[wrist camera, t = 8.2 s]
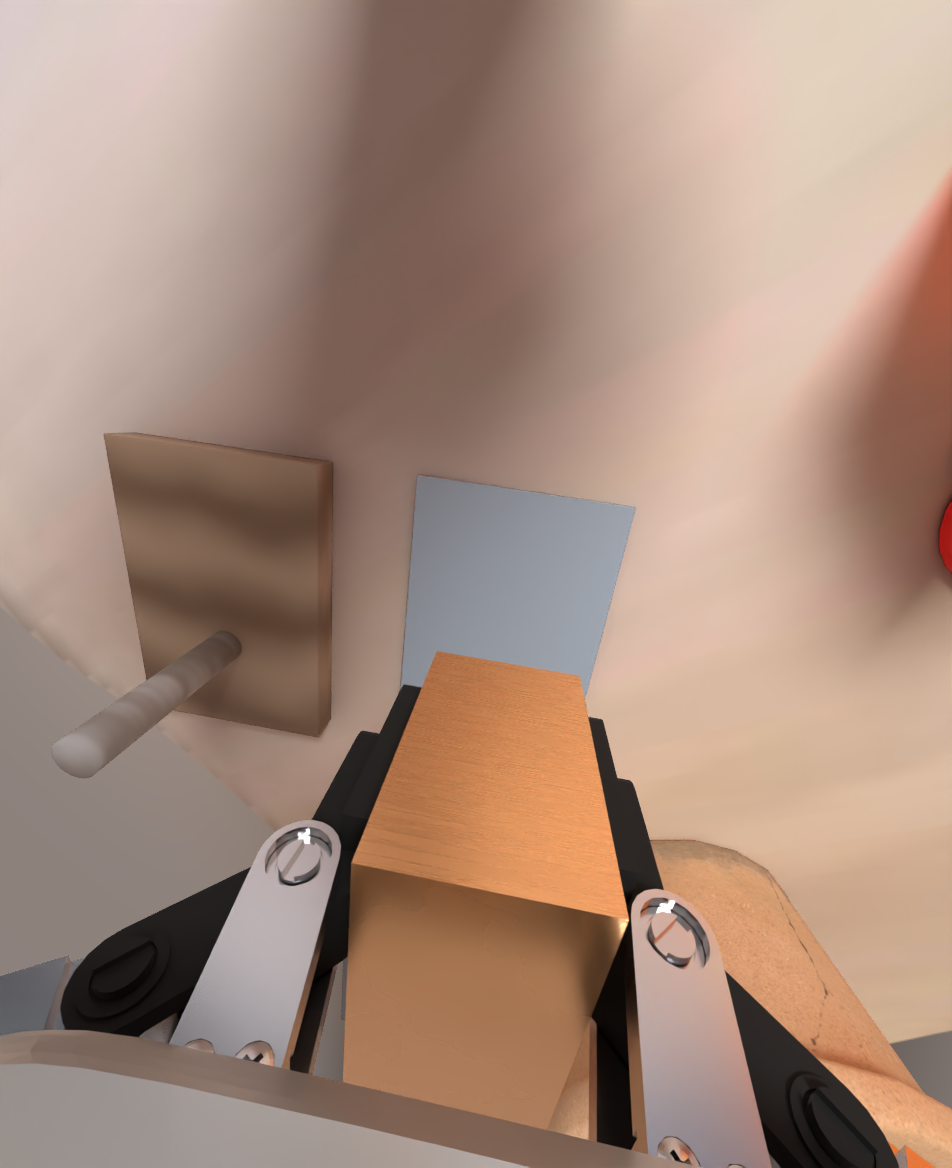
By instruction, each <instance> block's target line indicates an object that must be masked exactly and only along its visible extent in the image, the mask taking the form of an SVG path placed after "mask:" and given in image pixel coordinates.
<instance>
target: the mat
mask: <svg viewBox="0 0 952 1168" xmlns="http://www.w3.org/2000/svg"><path fill="white" fill-rule="evenodd" d="M635 509H636V508H635V507H632V506H625V505H618V504H611V503H605V502H598V501H591V500H585V499H578V498H571V497H564V496H558V495H551V494H544V493H538V492H531V491H524V490H517V489H511V488H504V487H497V486H490V485H484V484H477V483H470V482H464V481H457V480H450V479H443V478H437V477H430V476H423V475H418V476H417V485H416V498H415V511H414V524H413V537H412V549H411V562H410V575H409V588H408V601H407V613H406V626H405V639H404V652H403V665H402V678H401V688H402V686H403V685H404V684H406V685H412V686H417V687H422V686H423V684H424V681H425V679H426V676H427V674H428V671H429V669H430V666H431V664H432V661H433V659H434V656H435V654H436V651H439V652H445V653H451V654H456V655H462V656H468V657H474V658H480V659H485V660H491V661H497V662H503V663H508V664H514V665H520V666H526V667H532V668H537V669H543V670H549V671H555V672H560V673H566V674H572V675H578V676H580V679H581V684H582V689H583V694H584V699H585V697H586V694H587V690H588V686H589V682H590V678H591V675H592V671H593V667H594V663H595V660H596V656H597V652H598V648H599V645H600V641H601V637H602V633H603V630H604V626H605V622H606V618H607V614H608V611H609V607H610V603H611V599H612V596H613V592H614V588H615V584H616V581H617V577H618V573H619V569H620V566H621V562H622V558H623V554H624V550H625V547H626V543H627V539H628V535H629V532H630V528H631V524H632V520H633V517H634V513H635Z"/></svg>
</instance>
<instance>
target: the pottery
mask: <svg viewBox="0 0 952 1168" xmlns="http://www.w3.org/2000/svg"><path fill="white" fill-rule="evenodd" d="M650 843H651V846H652V850H653V853H654V857H655V860H656V864H657V867H658V871H659V874H660V877H661V881H662V884H663V888H664V890H665V891H669V892H671V893H673V894H675V895H678V896H680V897H681V898H683V899H684V900H686V901H687V902H688V903H690V904H691V905H692V906H694V907H695V909H696V910H697V911H698V912H699V913H700V914H701V915H702V916H703V917H704V918H705V920H706V921H707V923H708V924H709V926H710V927H711V929H712V931H713V932H714V935H715V937H716V940H717V943H718V945H719V949H720V953H721V957H722V961H723V965H724V970H725V971H726V972H727V973H728V974H729V975H731V976H732V977H733V978H734V979H735V980H736V981H737V982H738V983H739V984H740V985H741V986H742V987H743V988H744V989H745V990H746V991H747V992H748V993H749V994H750V995H751V996H752V997H753V998H754V999H755V1000H756V1001H758V1002H759V1003H760V1004H761V1005H762V1006H763V1007H764V1008H765V1009H766V1010H767V1011H768V1012H769V1013H770V1014H771V1015H772V1016H773V1017H774V1018H775V1019H776V1020H777V1021H778V1022H779V1023H780V1024H781V1025H782V1026H784V1027H785V1028H786V1029H787V1030H788V1031H789V1032H790V1033H791V1034H792V1035H793V1036H794V1037H795V1038H796V1039H797V1040H798V1041H799V1042H800V1043H801V1044H802V1045H803V1046H804V1047H805V1048H806V1049H807V1050H808V1051H809V1052H811V1053H812V1054H813V1055H814V1056H815V1057H816V1058H817V1059H818V1060H819V1061H820V1062H821V1063H822V1064H823V1065H824V1066H825V1067H826V1068H827V1069H828V1070H829V1071H830V1072H831V1073H832V1074H833V1075H834V1076H835V1077H837V1078H838V1079H839V1080H840V1081H841V1082H842V1083H843V1084H844V1085H845V1086H846V1087H847V1088H848V1089H849V1090H850V1091H851V1092H852V1093H853V1095H854V1096H855V1097H856V1098H857V1099H858V1100H859V1101H860V1102H861V1103H862V1104H863V1106H864V1107H865V1108H866V1109H867V1110H868V1111H869V1113H870V1114H871V1116H872V1117H873V1119H874V1120H875V1122H876V1123H877V1125H878V1126H879V1127H880V1129H881V1130H882V1132H883V1133H884V1135H885V1137H886V1139H887V1141H888V1142H889V1143H891V1144H892V1145H893V1146H894V1147H896V1148H897V1149H898V1150H900V1149H901V1148H902V1147H903V1146H904V1145H906V1146H907V1147H909V1148H910V1149H911V1150H913V1151H914V1152H915V1153H917V1154H918V1155H919V1156H921V1157H922V1158H923V1159H925V1160H926V1161H927V1162H929V1163H930V1164H931V1165H933V1166H934V1167H935V1168H952V1109H951V1108H949V1107H947V1106H945V1105H943V1104H942V1103H940V1102H938V1101H936V1100H935V1099H933V1098H931V1097H929V1096H927V1095H926V1094H924V1093H923V1091H922V1090H921V1088H920V1087H919V1086H918V1084H917V1083H916V1081H915V1080H914V1078H913V1077H912V1076H911V1074H910V1073H909V1071H908V1070H907V1068H906V1067H905V1066H904V1064H903V1063H902V1061H901V1060H900V1058H899V1057H898V1056H897V1054H896V1053H895V1051H894V1050H893V1048H892V1047H891V1046H890V1044H889V1043H888V1041H887V1040H886V1038H885V1037H884V1036H883V1034H882V1033H881V1031H880V1030H879V1028H878V1027H877V1026H876V1024H875V1023H874V1021H873V1020H872V1018H871V1017H870V1016H869V1014H868V1013H867V1011H866V1010H865V1008H864V1007H863V1006H862V1004H861V1003H860V1001H859V1000H858V998H857V997H856V996H855V994H854V993H853V991H852V990H851V988H850V987H849V986H848V984H847V983H846V981H845V980H844V978H843V977H842V976H841V974H840V973H839V971H838V970H837V968H836V967H835V965H834V964H833V963H832V961H831V960H830V958H829V957H828V955H827V954H826V953H825V951H824V950H823V948H822V947H821V945H820V944H819V943H818V941H817V940H816V938H815V937H814V935H813V934H812V933H811V931H810V930H809V928H808V927H807V925H806V924H805V923H804V921H803V920H802V918H801V917H800V915H799V914H798V913H797V911H796V910H795V908H794V907H793V905H792V904H791V902H790V901H789V899H788V897H787V895H786V894H785V892H784V891H783V890H782V888H781V887H780V886H779V884H778V883H777V882H776V880H775V879H774V878H773V876H772V875H771V874H770V872H769V871H768V870H767V869H765V868H764V867H762V866H760V865H759V864H757V863H755V862H754V861H752V860H750V859H748V858H747V857H745V856H743V855H742V854H740V853H738V852H737V851H734V850H730V849H726V848H722V847H718V846H714V845H711V844H707V843H703V842H699V841H695V840H652V841H650ZM589 1042H590V1021H589V1023H588V1026H587V1028H586V1031H585V1034H584V1036H583V1039H582V1041H581V1044H580V1046H579V1049H578V1051H577V1054H576V1056H575V1059H574V1062H573V1064H572V1067H571V1069H570V1072H569V1074H568V1077H567V1079H566V1082H565V1084H564V1087H563V1090H562V1092H561V1095H560V1097H559V1100H558V1102H557V1105H556V1107H555V1110H554V1112H553V1115H552V1118H551V1120H550V1123H549V1125H548V1128H547V1130H549V1131H553V1132H557V1133H562V1134H566V1135H570V1136H574V1137H578V1138H582V1139H587V1140H588V1135H589Z"/></svg>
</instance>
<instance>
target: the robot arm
mask: <svg viewBox="0 0 952 1168" xmlns="http://www.w3.org/2000/svg"><path fill="white" fill-rule="evenodd" d="M421 689H422V687H417V686H412V685H406V684H404V685H403V686H402V688H401V690H400V692H399V694H398V696H397V698H396V700H395V703H394V705H393V707H392V709H391V711H390V713H389V715H388V717H387V719H386V721H385V724H384V726H383V728H382V730H381V732H380V734H377V733H372V732H367V731H361V732H360V733H359V734H358V736H357V738H356V739H355V741H354V743H353V745H352V747H351V749H350V750H349V752H348V754H347V756H346V758H345V760H344V761H343V763H342V765H341V767H340V769H339V771H338V772H337V774H336V776H335V778H334V780H333V782H332V783H331V785H330V787H329V789H328V791H327V793H326V794H325V796H324V798H323V800H322V802H321V804H320V805H319V807H318V809H317V811H316V813H315V815H314V816H313V818H312V820H302V821H297V822H294V823H291V824H288V825H286V826H284V827H282V828H281V829H279V830H277V831H275V832H274V834H272V835H271V836H270V837H269V838H268V839H267V840H266V841H265V842H264V844H263V845H262V847H261V848H260V850H259V852H258V853H257V856H256V858H255V860H254V862H253V864H252V866H251V867H250V868H248V869H246V870H244V871H241V872H239V873H237V874H235V875H233V876H231V877H229V878H227V879H225V880H223V881H221V882H219V883H217V884H215V885H213V886H211V887H209V888H207V889H204V890H202V891H200V892H198V893H196V894H194V895H192V896H190V897H188V898H186V899H184V900H182V901H180V902H178V903H176V904H173V905H171V906H169V907H167V908H165V909H163V910H161V911H159V912H157V913H155V914H153V915H151V916H149V917H147V918H145V919H143V920H141V921H138V922H136V923H134V924H132V925H130V926H128V927H126V928H124V929H122V930H121V931H119V932H117V933H116V934H114V935H112V936H111V937H109V938H107V939H106V940H104V941H103V942H102V943H101V944H100V945H99V946H97V947H96V948H95V949H94V950H93V951H92V952H90V953H89V954H88V955H87V956H86V957H84V958H81V959H77V960H74V961H70V958H69V955H67V956H64V957H60V958H57V959H54V960H51V961H47V962H44V963H41V964H38V965H34V966H31V967H28V968H25V969H21V970H18V971H15V972H12V973H8V974H5V975H2V976H0V1168H935V1167H934V1166H933V1165H931V1164H930V1163H929V1162H927V1161H926V1160H925V1159H923V1158H922V1157H921V1156H919V1155H918V1154H917V1153H915V1152H914V1151H913V1150H911V1149H910V1148H909V1147H907V1146H906V1145H904V1146H903V1147H902V1148H901V1149H900V1150H898V1149H897V1148H896V1147H894V1146H893V1145H892V1144H891V1143H889V1142H888V1141H887V1139H886V1137H885V1135H884V1133H883V1132H882V1130H881V1129H880V1127H879V1126H878V1125H877V1123H876V1122H875V1120H874V1119H873V1117H872V1116H871V1114H870V1113H869V1111H868V1110H867V1109H866V1108H865V1107H864V1106H863V1104H862V1103H861V1102H860V1101H859V1100H858V1099H857V1098H856V1097H855V1096H854V1095H853V1093H852V1092H851V1091H850V1090H849V1089H848V1088H847V1087H846V1086H845V1085H844V1084H843V1083H842V1082H841V1081H840V1080H839V1079H838V1078H837V1077H835V1076H834V1075H833V1074H832V1073H831V1072H830V1071H829V1070H828V1069H827V1068H826V1067H825V1066H824V1065H823V1064H822V1063H821V1062H820V1061H819V1060H818V1059H817V1058H816V1057H815V1056H814V1055H813V1054H812V1053H811V1052H809V1051H808V1050H807V1049H806V1048H805V1047H804V1046H803V1045H802V1044H801V1043H800V1042H799V1041H798V1040H797V1039H796V1038H795V1037H794V1036H793V1035H792V1034H791V1033H790V1032H789V1031H788V1030H787V1029H786V1028H785V1027H784V1026H782V1025H781V1024H780V1023H779V1022H778V1021H777V1020H776V1019H775V1018H774V1017H773V1016H772V1015H771V1014H770V1013H769V1012H768V1011H767V1010H766V1009H765V1008H764V1007H763V1006H762V1005H761V1004H760V1003H759V1002H758V1001H756V1000H755V999H754V998H753V997H752V996H751V995H750V994H749V993H748V992H747V991H746V990H745V989H744V988H743V987H742V986H741V985H740V984H739V983H738V982H737V981H736V980H735V979H734V978H733V977H732V976H731V975H729V974H728V973H727V972H726V971H725V970H724V965H723V961H722V957H721V953H720V949H719V945H718V943H717V940H716V937H715V935H714V932H713V931H712V929H711V927H710V926H709V924H708V923H707V921H706V920H705V918H704V917H703V916H702V915H701V914H700V913H699V912H698V911H697V910H696V909H695V907H694V906H692V905H691V904H690V903H688V902H687V901H686V900H684V899H683V898H681V897H680V896H678V895H675V894H673V893H671V892H669V891H665V890H664V888H663V884H662V881H661V877H660V874H659V871H658V867H657V864H656V860H655V857H654V853H653V850H652V846H651V843H650V839H649V836H648V832H647V829H646V826H645V822H644V819H643V815H642V812H641V808H640V805H639V801H638V798H637V794H636V791H635V788H634V785H633V783H632V782H631V781H630V780H625V779H619V778H617V775H616V771H615V767H614V763H613V759H612V755H611V751H610V747H609V743H608V739H607V735H606V731H605V727H604V723H603V720H601V719H597V718H591V717H588V719H589V724H590V729H591V734H592V739H593V743H594V748H595V753H596V758H597V763H598V768H599V773H600V778H601V783H602V788H603V793H604V798H605V803H606V808H607V813H608V818H609V823H610V828H611V833H612V838H613V843H614V848H615V853H616V858H617V863H618V868H619V873H620V878H621V882H622V887H623V892H624V897H625V902H626V907H627V912H628V917H629V921H628V924H627V927H626V929H625V932H624V934H623V937H622V939H621V942H620V944H619V947H618V949H617V952H616V955H615V957H614V960H613V962H612V965H611V967H610V970H609V972H608V975H607V977H606V980H605V983H604V985H603V988H602V990H601V993H600V995H599V998H598V1000H597V1003H596V1005H595V1008H594V1011H593V1013H592V1016H591V1018H590V1042H589V1135H588V1140H587V1139H582V1138H578V1137H574V1136H570V1135H566V1134H562V1133H557V1132H553V1131H549V1130H545V1129H541V1128H536V1127H532V1126H528V1125H524V1124H519V1123H515V1122H511V1121H507V1120H503V1119H498V1118H494V1117H490V1116H486V1115H481V1114H477V1113H473V1112H469V1111H464V1110H460V1109H456V1108H452V1107H447V1106H443V1105H439V1104H435V1103H430V1102H426V1101H422V1100H418V1099H413V1098H409V1097H405V1096H401V1095H396V1094H392V1093H388V1092H384V1091H379V1090H375V1089H371V1088H366V1087H362V1086H358V1085H353V1084H349V1083H345V1082H340V1081H335V1080H331V1079H327V1078H323V1077H318V1076H314V1075H313V1070H314V1065H315V1062H316V1057H317V1052H318V1048H319V1044H320V1039H321V1035H322V1031H323V1026H324V1022H325V1017H326V1013H327V1008H328V1004H329V1000H330V995H331V991H332V986H333V982H334V978H335V973H336V969H337V964H338V963H339V962H341V961H342V960H344V959H345V958H347V957H348V936H349V910H350V883H351V862H352V860H353V857H354V855H355V852H356V850H357V848H358V845H359V843H360V840H361V838H362V835H363V833H364V830H365V828H366V825H367V823H368V820H369V818H370V815H371V813H372V810H373V808H374V805H375V803H376V800H377V798H378V795H379V793H380V790H381V788H382V785H383V783H384V781H385V778H386V776H387V773H388V771H389V768H390V766H391V763H392V761H393V758H394V756H395V753H396V751H397V748H398V746H399V743H400V741H401V738H402V736H403V733H404V731H405V728H406V726H407V723H408V721H409V718H410V716H411V713H412V711H413V709H414V706H415V704H416V701H417V699H418V696H419V694H420V691H421Z"/></svg>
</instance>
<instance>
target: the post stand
mask: <svg viewBox="0 0 952 1168" xmlns="http://www.w3.org/2000/svg"><path fill="white" fill-rule="evenodd" d="M104 439H105V445H106V450H107V456H108V462H109V468H110V473H111V479H112V485H113V490H114V496H115V502H116V507H117V513H118V519H119V525H120V530H121V536H122V542H123V547H124V553H125V559H126V565H127V570H128V576H129V582H130V587H131V593H132V599H133V605H134V610H135V616H136V622H137V627H138V633H139V639H140V645H141V650H142V656H143V662H144V667H145V673H146V679H147V680H146V681H145V682H144V683H142V684H141V685H139V686H138V687H136V688H135V689H133V690H132V691H130V692H129V693H128V694H126V695H125V696H123V697H122V698H120V699H119V700H117V701H116V702H114V703H113V704H111V705H110V706H109V707H107V708H106V709H104V710H103V711H102V712H100V713H98V714H97V715H95V716H94V717H92V718H91V719H90V720H88V721H87V722H85V723H84V724H82V725H81V726H79V727H78V728H76V729H75V730H74V731H72V732H71V733H69V734H68V735H66V736H65V737H63V738H62V739H60V740H59V741H57V742H56V743H55V744H54V745H53V746H52V750H51V753H52V757H53V759H54V761H55V762H56V764H57V765H58V766H59V767H60V768H61V769H62V770H63V771H65V772H67V773H68V774H70V775H72V776H75V777H78V778H89V777H92V776H93V775H94V774H95V773H97V772H98V771H99V770H100V769H102V768H103V767H104V766H105V765H106V764H108V763H109V762H110V761H111V760H113V759H114V758H115V757H116V756H117V755H119V754H120V753H121V752H122V751H123V750H125V749H126V748H127V747H128V746H130V745H131V744H132V743H133V742H134V741H136V740H137V739H138V738H139V737H141V736H142V735H143V734H144V733H145V732H147V731H148V730H149V729H150V728H152V727H153V726H154V725H155V724H157V723H158V722H159V721H160V720H161V719H163V718H164V717H165V716H166V715H168V714H169V713H170V712H171V711H172V710H175V711H180V712H186V713H191V714H196V715H202V716H207V717H212V718H218V719H223V720H228V721H234V722H239V723H244V724H250V725H255V726H260V727H266V728H271V729H276V730H282V731H287V732H292V733H298V734H303V735H308V736H314V737H319V736H320V734H321V733H322V731H323V730H324V728H325V727H326V725H327V723H328V722H329V720H330V719H331V635H332V513H333V462H329V461H323V460H316V459H309V458H302V457H296V456H289V455H282V454H275V453H269V452H262V451H255V450H249V449H242V448H235V447H228V446H222V445H215V444H208V443H202V442H195V441H188V440H181V439H175V438H168V437H161V436H155V435H148V434H141V433H107V434H104Z"/></svg>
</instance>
